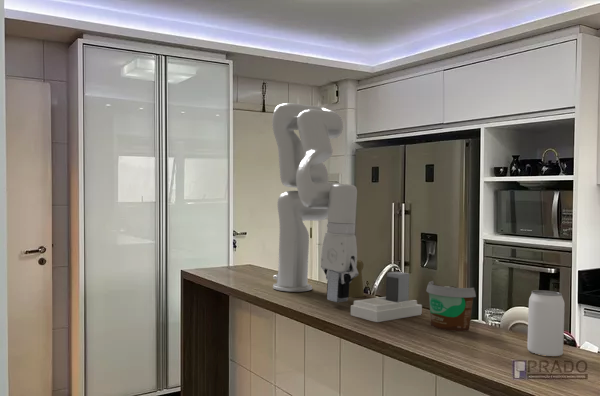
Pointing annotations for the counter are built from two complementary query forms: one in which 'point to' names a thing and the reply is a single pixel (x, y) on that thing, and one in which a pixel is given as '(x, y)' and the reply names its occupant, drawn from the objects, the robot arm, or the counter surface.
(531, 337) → the can
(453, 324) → the food container
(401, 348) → the counter surface
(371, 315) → the white stepped block base
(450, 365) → the counter surface
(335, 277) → the upright gray prism
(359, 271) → the cork
